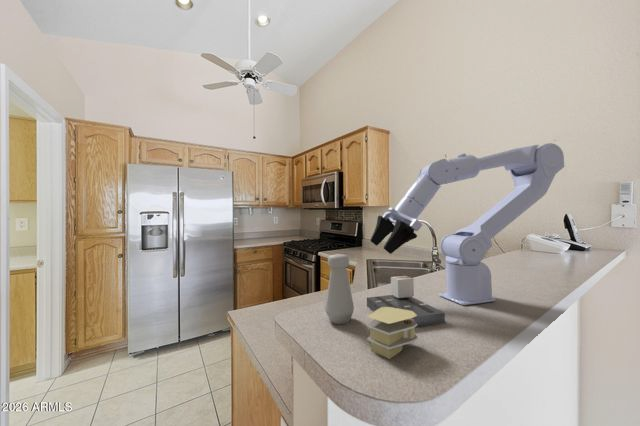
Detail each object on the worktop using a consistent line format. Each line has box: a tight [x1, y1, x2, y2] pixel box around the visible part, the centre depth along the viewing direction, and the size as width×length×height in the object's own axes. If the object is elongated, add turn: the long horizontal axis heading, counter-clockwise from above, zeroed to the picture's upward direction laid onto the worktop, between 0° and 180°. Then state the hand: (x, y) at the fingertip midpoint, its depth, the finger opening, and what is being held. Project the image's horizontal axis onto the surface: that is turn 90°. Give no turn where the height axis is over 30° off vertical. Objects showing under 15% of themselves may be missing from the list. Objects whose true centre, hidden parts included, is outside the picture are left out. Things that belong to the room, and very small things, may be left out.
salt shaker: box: [324, 253, 355, 325], centre depth 50 cm, size 6×6×13 cm
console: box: [366, 294, 446, 329], centre depth 52 cm, size 10×13×2 cm
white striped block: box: [390, 275, 415, 298], centre depth 57 cm, size 4×3×4 cm
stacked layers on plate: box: [366, 307, 419, 360], centre depth 39 cm, size 10×9×6 cm
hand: (379, 247), depth 61 cm, fingers open, 7 cm apart
